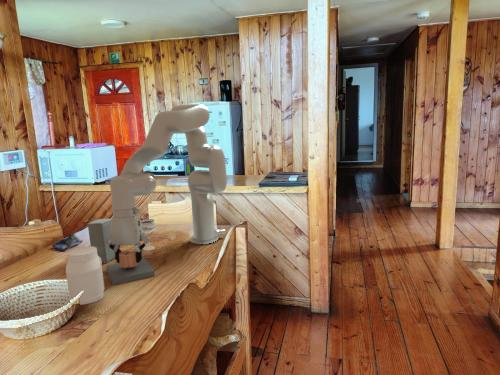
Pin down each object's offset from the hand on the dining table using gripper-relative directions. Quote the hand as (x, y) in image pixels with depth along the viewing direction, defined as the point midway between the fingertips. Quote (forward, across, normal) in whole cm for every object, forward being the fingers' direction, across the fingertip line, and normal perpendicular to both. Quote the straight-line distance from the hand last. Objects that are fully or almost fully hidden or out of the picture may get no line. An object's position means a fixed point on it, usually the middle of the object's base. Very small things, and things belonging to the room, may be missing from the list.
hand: (129, 261), depth 135 cm
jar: (+5, +8, +17) cm, 19 cm away
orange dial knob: (+1, 0, 0) cm, 1 cm away
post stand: (+5, 0, 0) cm, 5 cm away
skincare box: (+5, +15, -14) cm, 21 cm away
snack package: (+5, +38, -30) cm, 48 cm away
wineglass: (+5, +1, -26) cm, 26 cm away
